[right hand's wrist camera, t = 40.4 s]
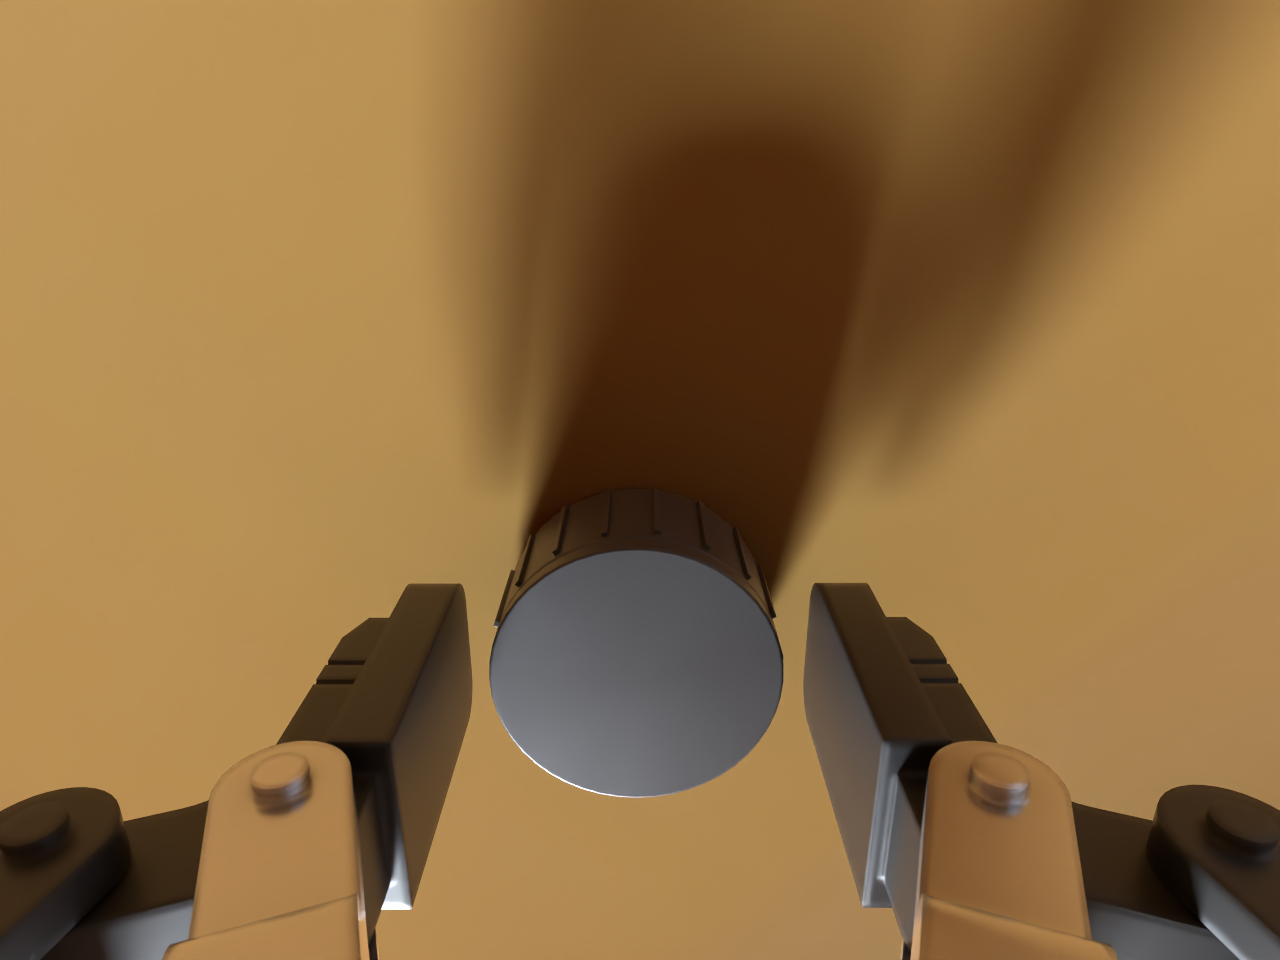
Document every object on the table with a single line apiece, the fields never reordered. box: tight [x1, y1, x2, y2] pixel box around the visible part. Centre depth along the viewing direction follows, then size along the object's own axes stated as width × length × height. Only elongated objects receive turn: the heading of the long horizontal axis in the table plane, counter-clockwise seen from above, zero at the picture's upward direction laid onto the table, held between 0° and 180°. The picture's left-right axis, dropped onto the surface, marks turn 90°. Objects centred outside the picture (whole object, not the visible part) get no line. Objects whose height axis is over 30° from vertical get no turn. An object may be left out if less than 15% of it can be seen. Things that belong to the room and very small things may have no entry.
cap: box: [489, 487, 783, 798], centre depth 12 cm, size 4×4×2 cm
